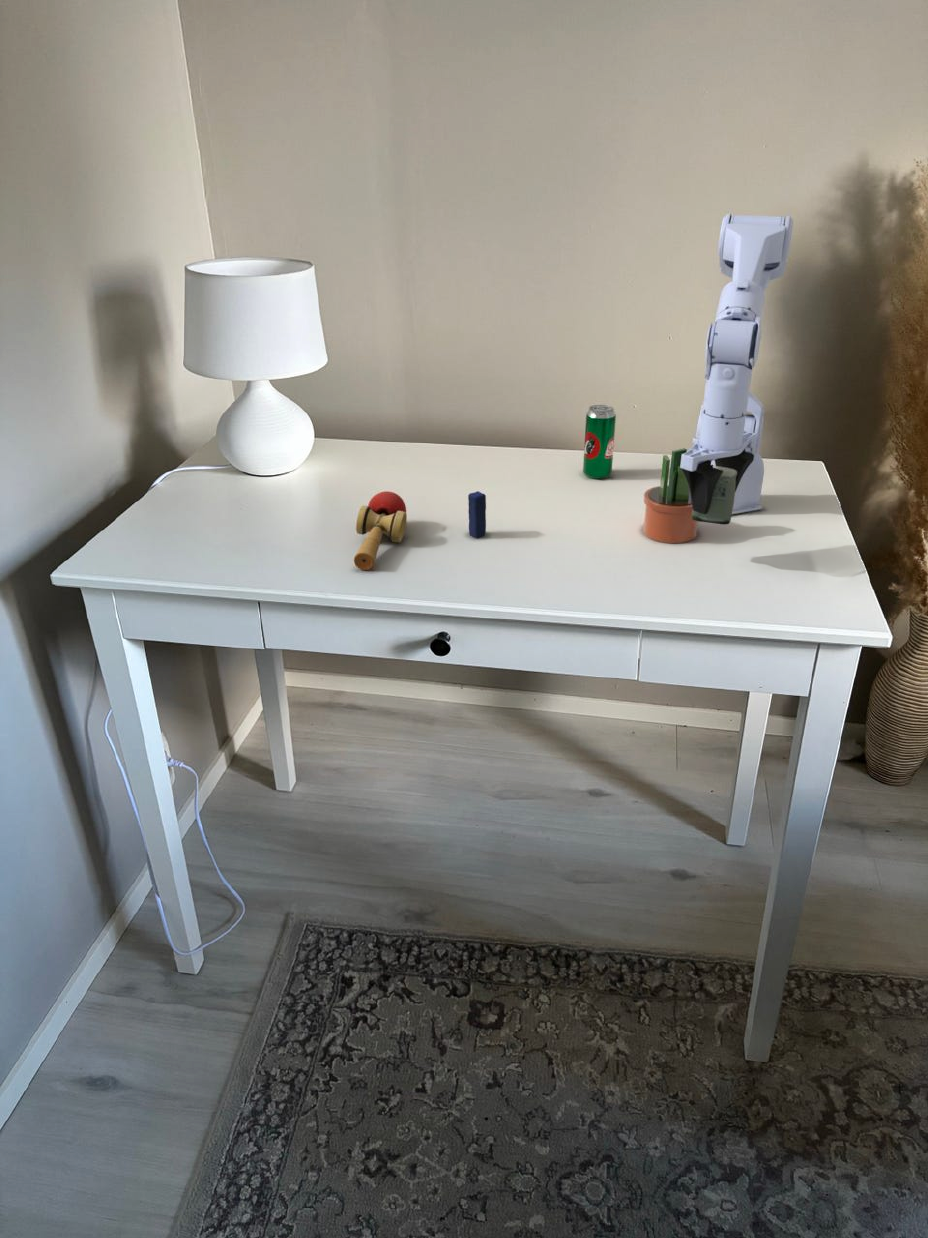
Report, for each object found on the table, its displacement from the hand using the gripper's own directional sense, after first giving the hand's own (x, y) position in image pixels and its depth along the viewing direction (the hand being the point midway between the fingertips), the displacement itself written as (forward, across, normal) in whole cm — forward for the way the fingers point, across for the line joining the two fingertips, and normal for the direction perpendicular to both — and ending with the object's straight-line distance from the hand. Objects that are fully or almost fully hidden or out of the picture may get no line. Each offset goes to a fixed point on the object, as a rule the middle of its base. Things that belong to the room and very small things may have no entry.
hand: (712, 506), depth 137 cm
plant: (+9, -4, -10) cm, 14 cm away
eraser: (+9, +18, -29) cm, 35 cm away
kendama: (+9, +31, -36) cm, 49 cm away
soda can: (+9, -15, -34) cm, 38 cm away
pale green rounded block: (+2, 0, 0) cm, 2 cm away
